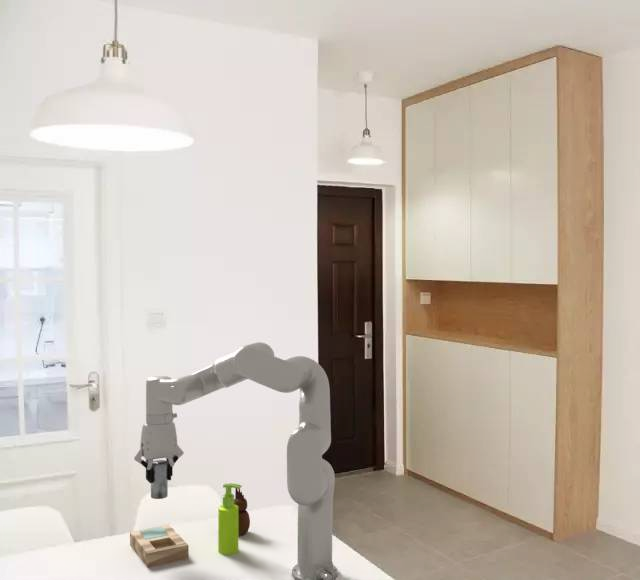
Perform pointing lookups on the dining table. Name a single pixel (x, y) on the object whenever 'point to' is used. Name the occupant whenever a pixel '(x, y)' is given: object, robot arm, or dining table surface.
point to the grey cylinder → (159, 479)
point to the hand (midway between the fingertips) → (159, 479)
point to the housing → (158, 545)
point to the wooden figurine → (242, 513)
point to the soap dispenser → (228, 523)
